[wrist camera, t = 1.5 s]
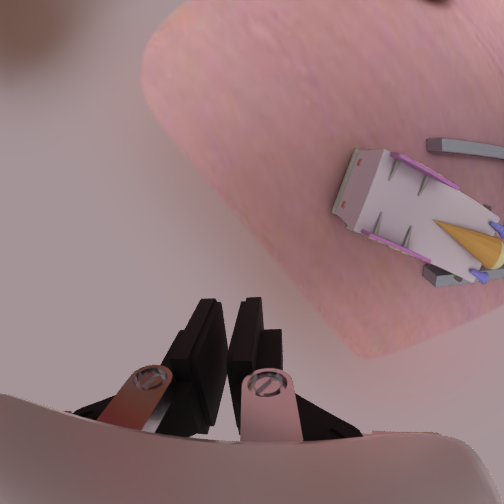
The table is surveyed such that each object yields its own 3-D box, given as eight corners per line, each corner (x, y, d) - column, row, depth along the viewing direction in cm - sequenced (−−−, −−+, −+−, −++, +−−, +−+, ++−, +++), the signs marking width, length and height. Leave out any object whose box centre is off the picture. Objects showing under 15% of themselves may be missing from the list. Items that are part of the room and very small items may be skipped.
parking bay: (524, 153, 28) (549, 156, 23) (516, 265, 34) (538, 278, 28) (426, 139, 30) (450, 137, 25) (422, 275, 36) (442, 293, 30)
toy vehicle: (447, 267, 35) (508, 317, 21) (325, 215, 35) (356, 253, 20) (471, 206, 32) (544, 234, 18) (352, 143, 32) (402, 133, 18)
